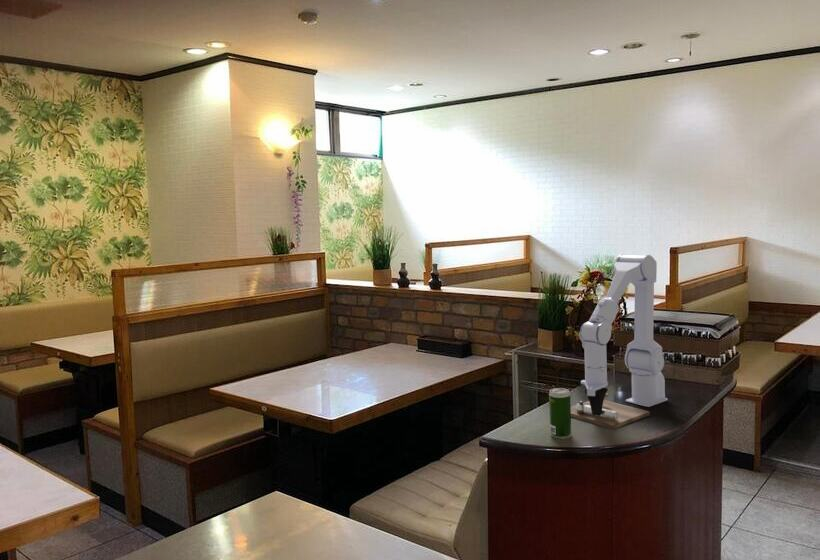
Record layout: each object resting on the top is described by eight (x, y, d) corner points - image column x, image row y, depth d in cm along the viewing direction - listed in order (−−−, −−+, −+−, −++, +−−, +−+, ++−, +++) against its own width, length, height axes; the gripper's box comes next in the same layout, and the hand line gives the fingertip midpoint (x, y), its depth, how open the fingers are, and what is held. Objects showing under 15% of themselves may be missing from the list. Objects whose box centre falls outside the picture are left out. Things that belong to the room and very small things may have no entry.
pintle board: (597, 401, 196) (597, 386, 195) (649, 415, 181) (649, 399, 180) (560, 413, 187) (560, 398, 186) (612, 429, 172) (611, 412, 171)
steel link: (574, 411, 184) (574, 401, 183) (580, 409, 185) (579, 399, 185) (613, 420, 174) (613, 410, 174) (619, 418, 176) (618, 407, 176)
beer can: (561, 441, 166) (559, 395, 165) (546, 435, 170) (544, 390, 169) (576, 435, 169) (574, 390, 167) (560, 430, 173) (559, 386, 172)
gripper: (586, 359, 185) (587, 405, 186) (574, 371, 172) (576, 421, 173) (612, 360, 182) (612, 407, 183) (602, 373, 169) (603, 424, 170)
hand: (596, 414), depth 178 cm, fingers closed, pressing on steel link
